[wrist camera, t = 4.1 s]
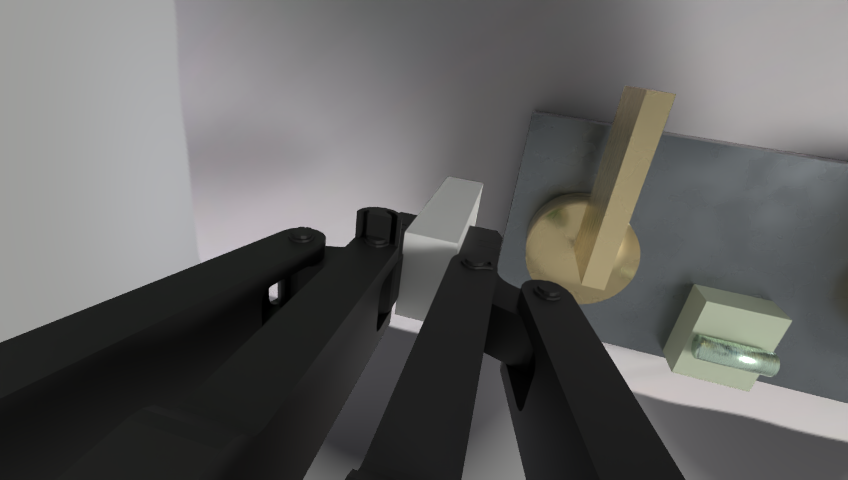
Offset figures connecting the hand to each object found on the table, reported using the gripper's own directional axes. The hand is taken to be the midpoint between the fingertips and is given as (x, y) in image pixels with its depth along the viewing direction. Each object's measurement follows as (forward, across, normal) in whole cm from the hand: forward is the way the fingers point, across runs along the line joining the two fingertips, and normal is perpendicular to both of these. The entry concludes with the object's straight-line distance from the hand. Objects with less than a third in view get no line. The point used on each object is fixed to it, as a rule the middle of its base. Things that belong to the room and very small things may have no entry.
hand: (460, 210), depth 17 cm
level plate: (+15, +18, -5) cm, 24 cm away
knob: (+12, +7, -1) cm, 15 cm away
